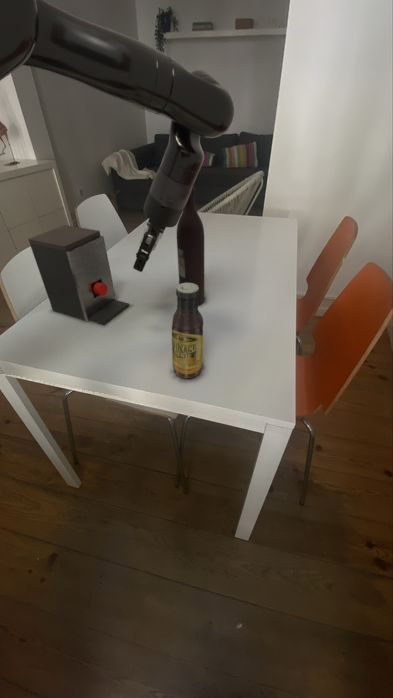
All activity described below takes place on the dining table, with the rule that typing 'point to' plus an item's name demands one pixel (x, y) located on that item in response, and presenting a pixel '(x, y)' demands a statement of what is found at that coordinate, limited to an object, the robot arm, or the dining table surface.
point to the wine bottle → (191, 247)
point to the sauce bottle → (187, 332)
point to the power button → (100, 289)
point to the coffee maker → (76, 273)
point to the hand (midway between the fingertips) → (142, 260)
